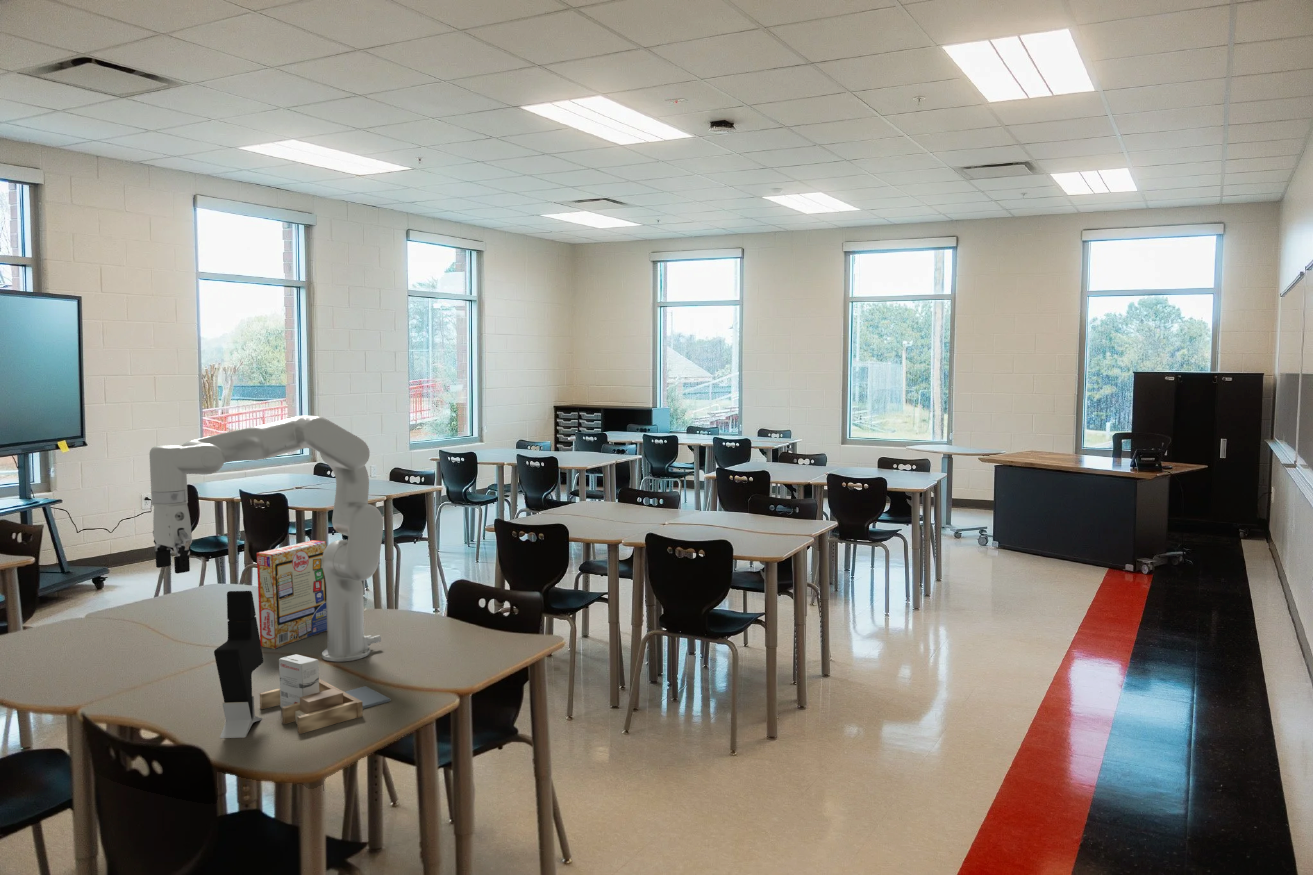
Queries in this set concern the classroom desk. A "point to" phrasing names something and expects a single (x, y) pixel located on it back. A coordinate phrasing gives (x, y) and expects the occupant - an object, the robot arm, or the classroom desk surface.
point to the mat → (368, 696)
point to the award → (239, 664)
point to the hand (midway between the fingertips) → (172, 569)
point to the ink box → (297, 678)
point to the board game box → (291, 593)
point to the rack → (319, 718)
